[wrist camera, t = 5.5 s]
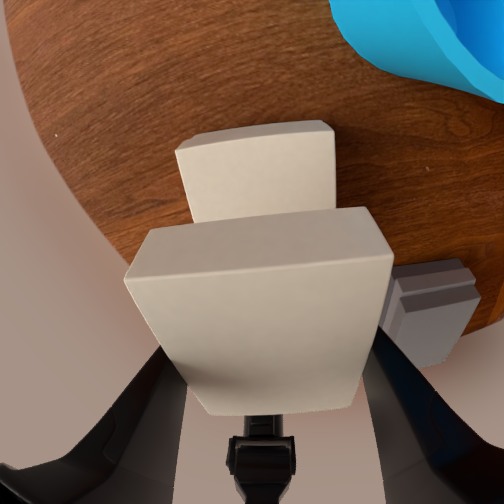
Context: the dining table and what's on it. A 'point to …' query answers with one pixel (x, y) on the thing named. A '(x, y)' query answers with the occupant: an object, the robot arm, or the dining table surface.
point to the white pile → (259, 170)
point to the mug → (430, 40)
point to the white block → (266, 306)
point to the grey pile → (428, 308)
